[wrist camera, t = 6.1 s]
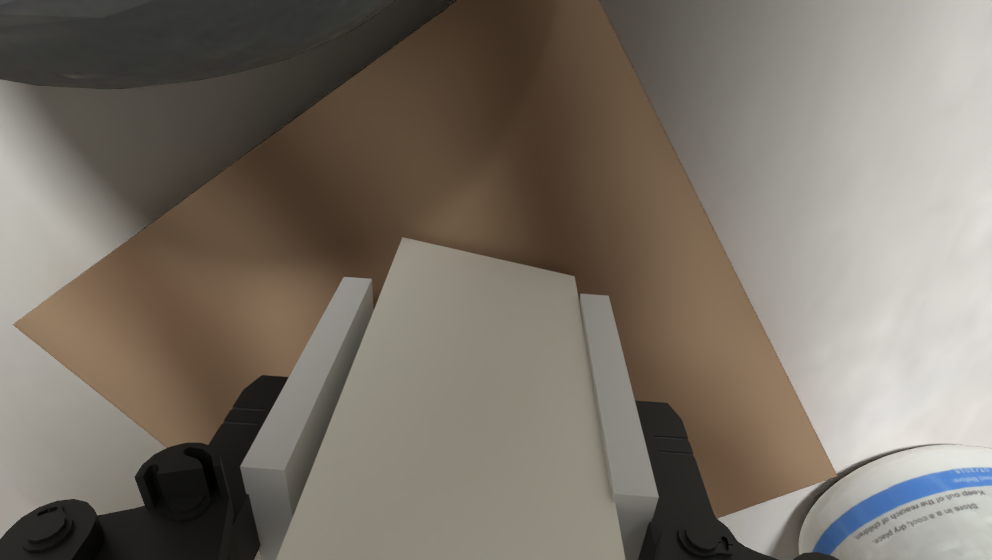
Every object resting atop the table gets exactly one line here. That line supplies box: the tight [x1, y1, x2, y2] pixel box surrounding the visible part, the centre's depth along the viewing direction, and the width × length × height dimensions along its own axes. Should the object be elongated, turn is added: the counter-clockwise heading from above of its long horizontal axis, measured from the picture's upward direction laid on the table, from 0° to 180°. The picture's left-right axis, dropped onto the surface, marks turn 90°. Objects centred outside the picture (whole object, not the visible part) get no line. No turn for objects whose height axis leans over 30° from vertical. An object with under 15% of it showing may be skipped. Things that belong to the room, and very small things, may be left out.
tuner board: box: [13, 0, 837, 518], centre depth 20 cm, size 20×20×2 cm
